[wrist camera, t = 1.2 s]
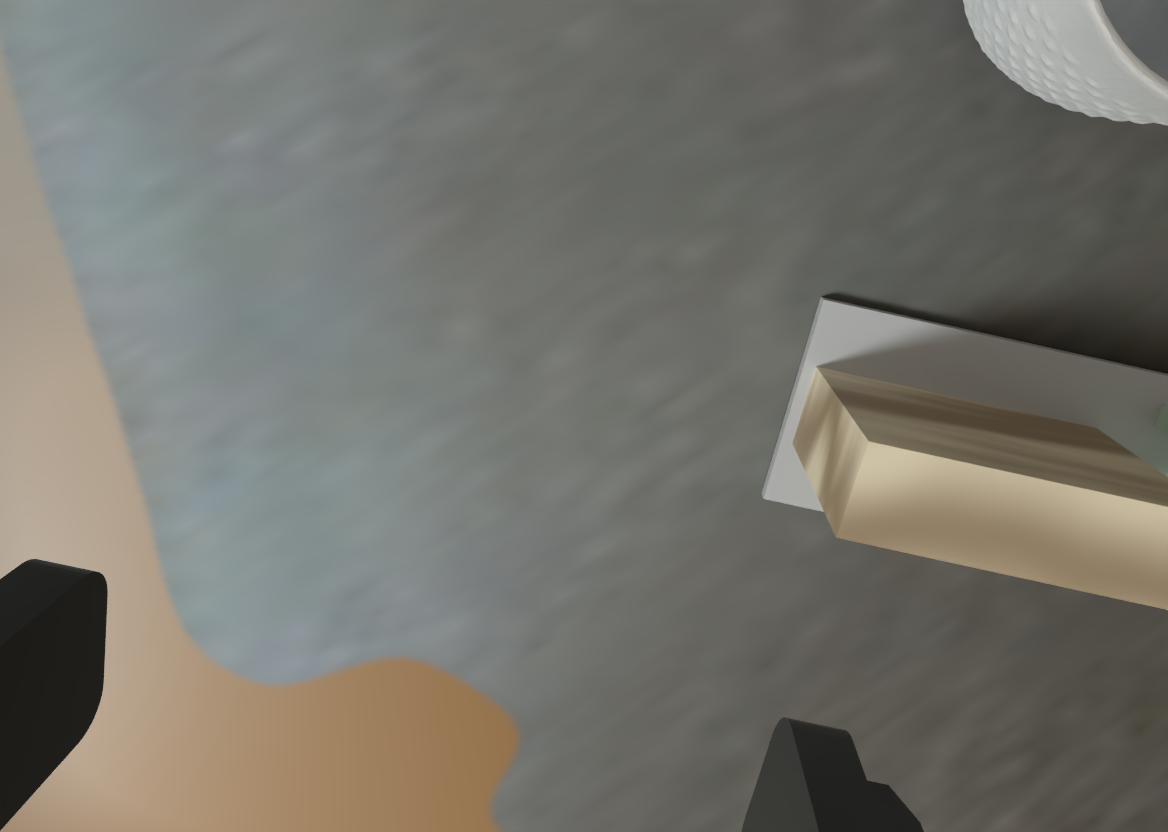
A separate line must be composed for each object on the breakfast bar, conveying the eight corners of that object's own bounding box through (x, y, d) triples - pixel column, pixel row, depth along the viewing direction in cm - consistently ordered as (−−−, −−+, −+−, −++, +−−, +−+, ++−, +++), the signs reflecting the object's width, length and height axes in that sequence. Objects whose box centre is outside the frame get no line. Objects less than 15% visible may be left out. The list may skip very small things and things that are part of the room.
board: (820, 296, 37) (823, 299, 36) (1337, 411, 37) (1348, 416, 37) (761, 493, 40) (763, 498, 39) (1241, 597, 40) (1250, 604, 40)
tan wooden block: (816, 366, 37) (868, 441, 29) (1096, 428, 38) (1231, 521, 29) (792, 443, 39) (836, 537, 30) (1064, 503, 39) (1185, 613, 30)
